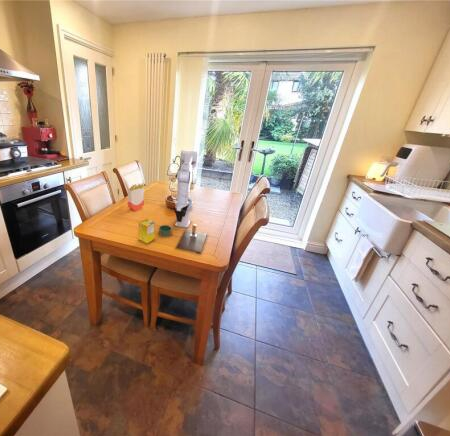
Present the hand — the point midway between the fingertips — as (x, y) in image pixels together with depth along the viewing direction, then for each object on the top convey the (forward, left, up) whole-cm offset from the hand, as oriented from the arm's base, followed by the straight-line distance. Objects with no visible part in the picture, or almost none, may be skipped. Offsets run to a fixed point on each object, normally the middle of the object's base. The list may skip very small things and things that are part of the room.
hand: (181, 218), depth 125 cm
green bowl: (+1, -8, -10) cm, 13 cm away
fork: (+3, +8, -9) cm, 13 cm away
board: (+3, +8, -10) cm, 14 cm away
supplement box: (+11, -15, -11) cm, 22 cm away
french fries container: (-26, -38, -11) cm, 47 cm away
